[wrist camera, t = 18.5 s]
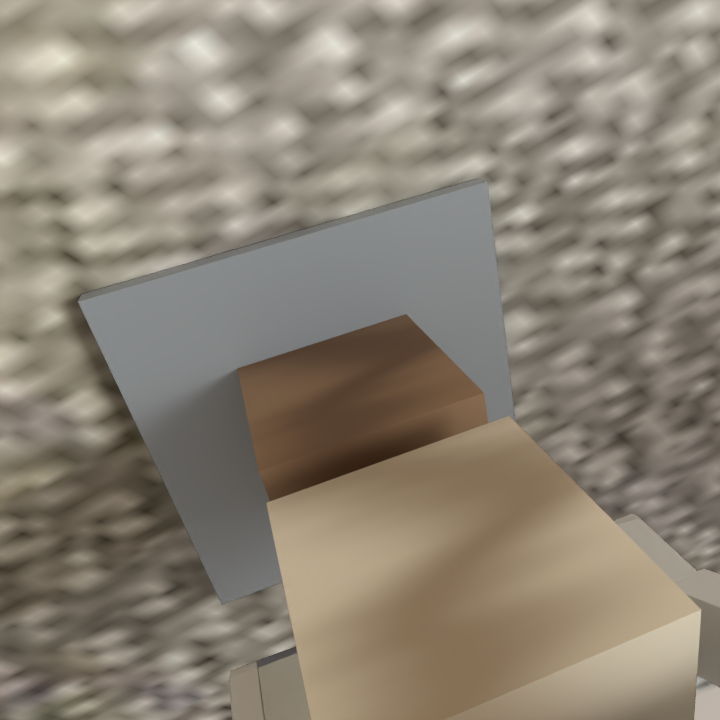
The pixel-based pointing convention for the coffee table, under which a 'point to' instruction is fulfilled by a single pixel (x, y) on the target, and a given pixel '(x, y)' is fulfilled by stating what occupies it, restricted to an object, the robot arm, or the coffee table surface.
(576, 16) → the coffee table surface
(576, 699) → the beech cube
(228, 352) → the pad
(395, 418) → the walnut cube
